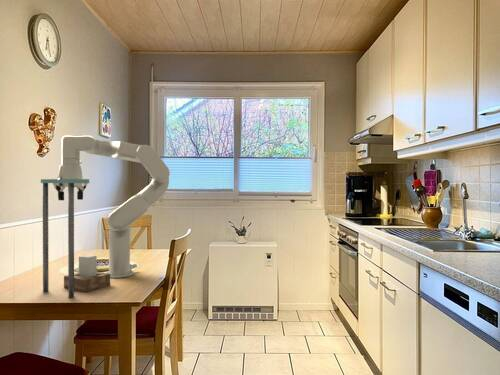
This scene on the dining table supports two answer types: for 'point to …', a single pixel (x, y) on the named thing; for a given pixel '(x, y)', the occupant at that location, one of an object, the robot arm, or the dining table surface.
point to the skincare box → (87, 266)
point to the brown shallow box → (89, 282)
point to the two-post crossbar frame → (70, 232)
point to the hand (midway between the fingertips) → (70, 199)
